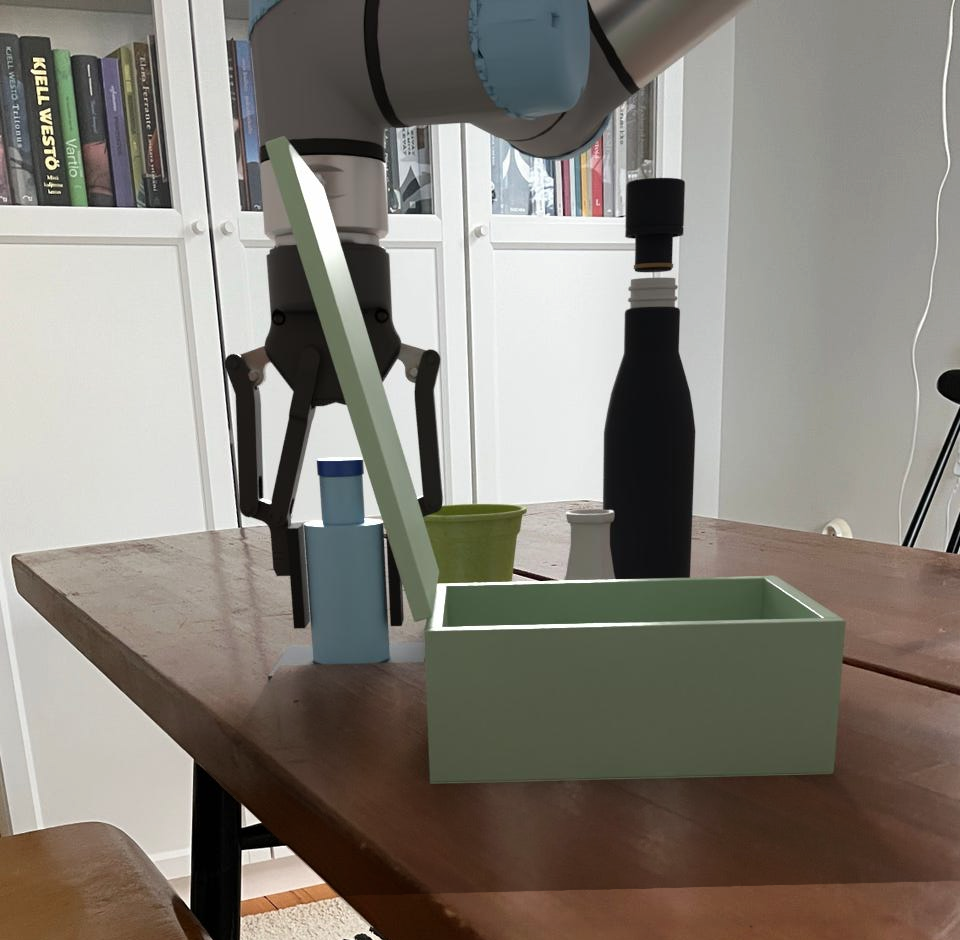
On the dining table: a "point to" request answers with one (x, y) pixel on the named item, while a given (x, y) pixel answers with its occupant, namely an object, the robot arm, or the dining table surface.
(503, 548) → the plant pot
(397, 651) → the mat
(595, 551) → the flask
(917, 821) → the dining table surface
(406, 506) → the lid
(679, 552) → the black bottle
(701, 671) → the cool chest
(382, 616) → the water bottle
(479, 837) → the dining table surface
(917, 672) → the dining table surface
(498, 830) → the dining table surface
